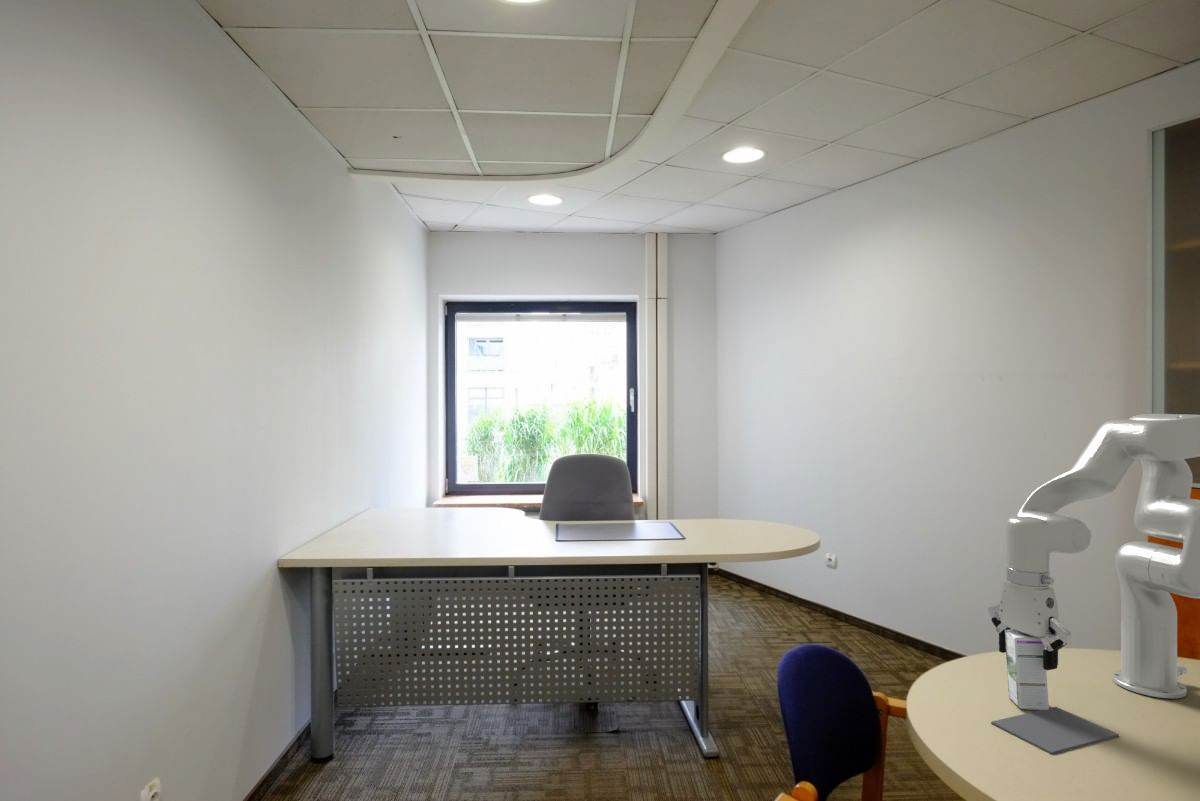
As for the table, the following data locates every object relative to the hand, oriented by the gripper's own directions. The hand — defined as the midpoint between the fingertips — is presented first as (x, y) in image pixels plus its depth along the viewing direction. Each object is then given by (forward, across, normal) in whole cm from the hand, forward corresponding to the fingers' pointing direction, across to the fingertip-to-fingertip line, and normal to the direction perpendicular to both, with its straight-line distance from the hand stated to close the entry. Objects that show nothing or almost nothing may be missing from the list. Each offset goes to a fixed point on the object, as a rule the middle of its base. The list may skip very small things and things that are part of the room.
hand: (1027, 660), depth 138 cm
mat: (+9, -9, +5) cm, 14 cm away
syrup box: (+9, 0, 0) cm, 9 cm away
